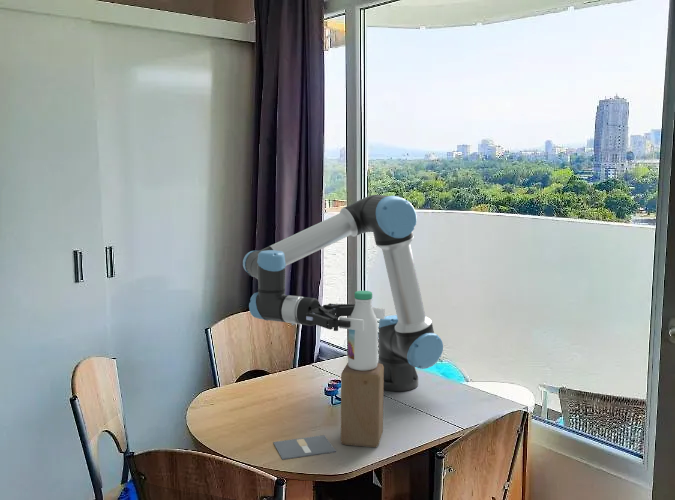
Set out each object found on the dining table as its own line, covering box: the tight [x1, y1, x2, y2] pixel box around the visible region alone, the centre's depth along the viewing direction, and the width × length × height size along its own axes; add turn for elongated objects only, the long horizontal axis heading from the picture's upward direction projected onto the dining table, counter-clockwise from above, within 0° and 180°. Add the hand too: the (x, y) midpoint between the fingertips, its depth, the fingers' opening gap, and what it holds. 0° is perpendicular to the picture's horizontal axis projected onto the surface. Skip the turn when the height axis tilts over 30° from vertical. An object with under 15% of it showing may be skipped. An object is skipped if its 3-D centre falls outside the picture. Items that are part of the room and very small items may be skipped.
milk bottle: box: [347, 290, 379, 371], centre depth 165 cm, size 8×8×20 cm
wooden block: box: [340, 362, 384, 448], centre depth 168 cm, size 10×10×20 cm
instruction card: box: [272, 434, 337, 461], centre depth 164 cm, size 14×10×1 cm
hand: (374, 319), depth 163 cm, fingers open, 13 cm apart
